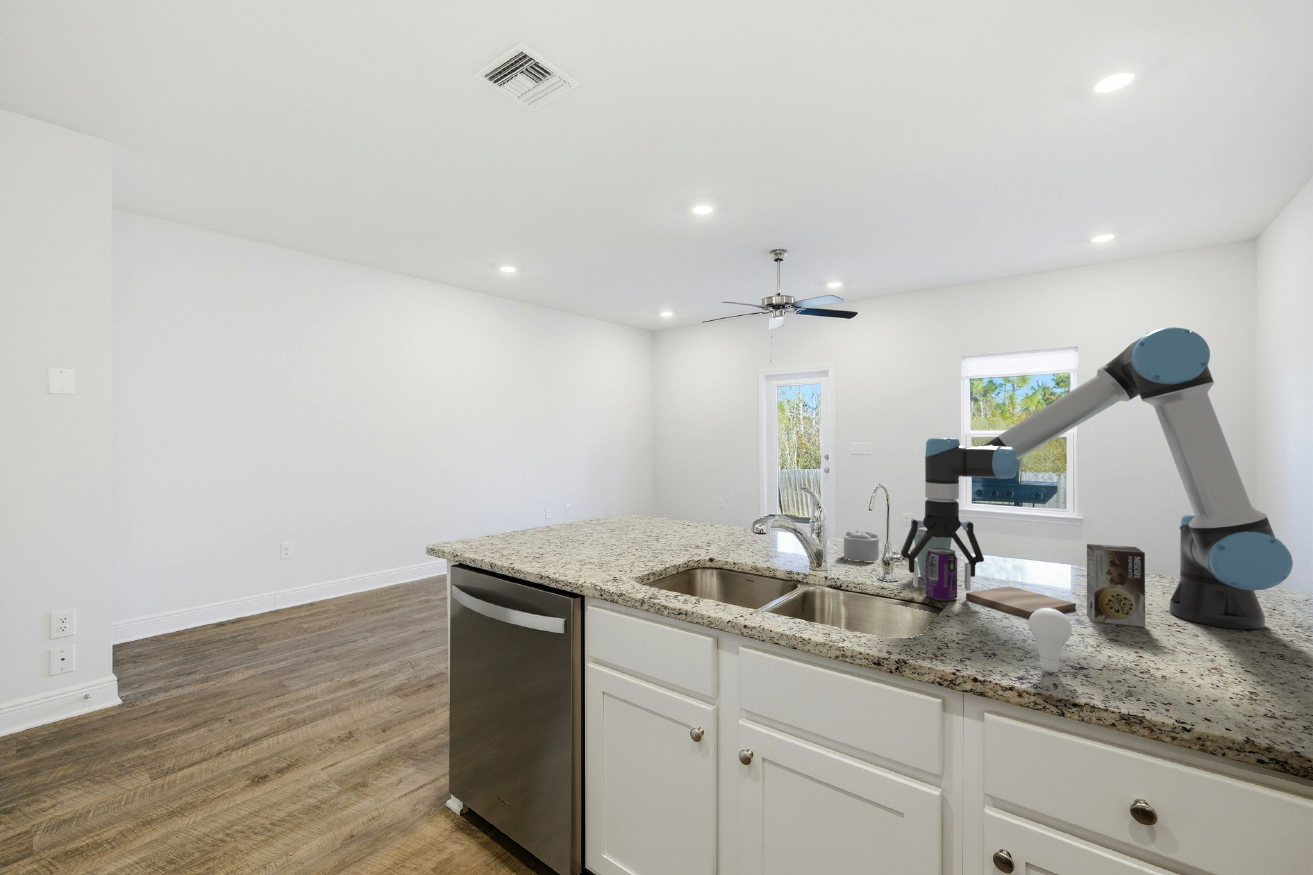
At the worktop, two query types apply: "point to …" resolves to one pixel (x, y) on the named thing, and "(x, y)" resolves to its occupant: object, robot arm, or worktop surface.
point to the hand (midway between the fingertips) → (941, 587)
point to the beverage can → (941, 574)
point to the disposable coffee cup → (932, 543)
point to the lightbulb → (1050, 635)
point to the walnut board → (1018, 600)
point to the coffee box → (1116, 584)
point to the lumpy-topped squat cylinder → (861, 546)
